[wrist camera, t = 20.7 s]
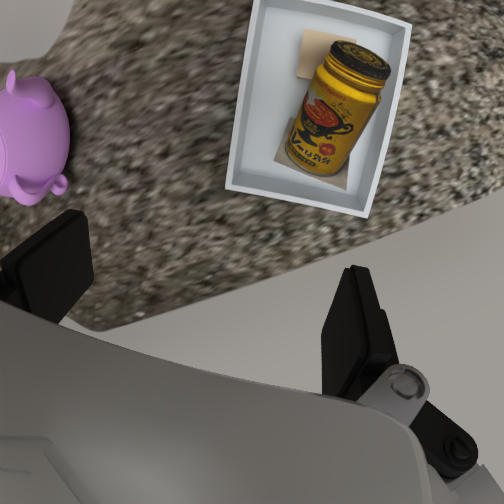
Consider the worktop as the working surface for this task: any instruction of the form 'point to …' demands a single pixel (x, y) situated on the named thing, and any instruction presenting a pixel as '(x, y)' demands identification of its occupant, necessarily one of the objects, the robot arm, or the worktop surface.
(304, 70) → the cube
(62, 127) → the teapot
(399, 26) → the tote
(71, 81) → the worktop surface
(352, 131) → the condiment
